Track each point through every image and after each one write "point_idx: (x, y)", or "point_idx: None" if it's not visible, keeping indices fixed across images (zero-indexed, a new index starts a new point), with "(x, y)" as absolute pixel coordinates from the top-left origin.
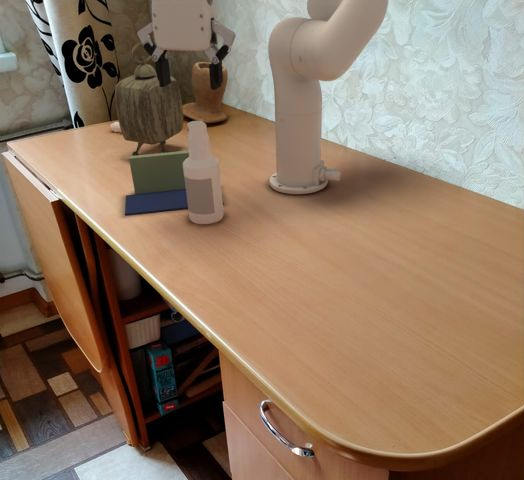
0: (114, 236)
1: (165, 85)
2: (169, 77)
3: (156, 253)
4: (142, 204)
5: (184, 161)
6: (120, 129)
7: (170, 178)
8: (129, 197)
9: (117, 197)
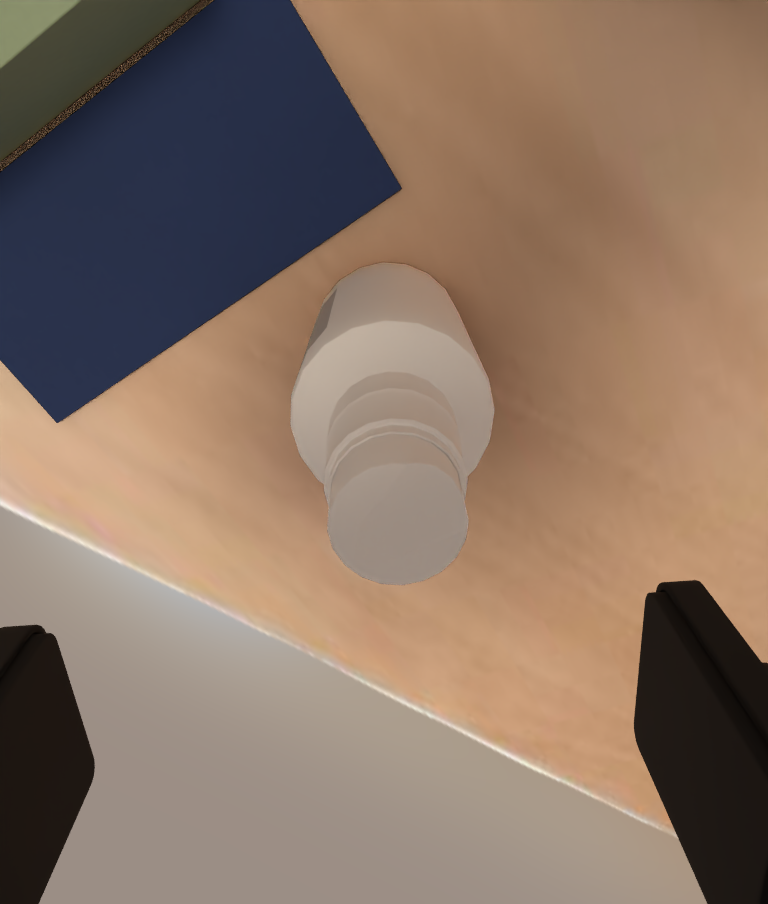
0: (149, 565)
1: (84, 736)
2: (28, 689)
3: (357, 614)
4: (55, 320)
5: (313, 463)
6: None
7: (36, 107)
8: None
9: None
